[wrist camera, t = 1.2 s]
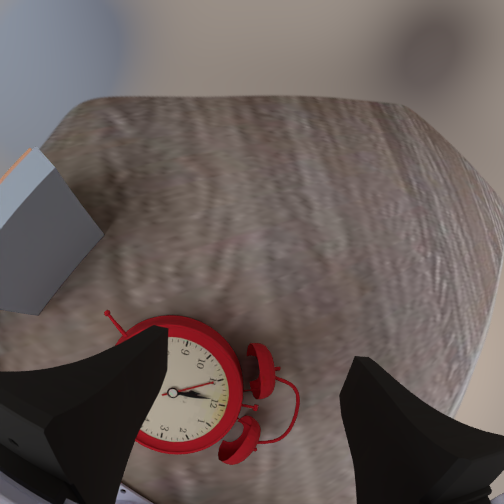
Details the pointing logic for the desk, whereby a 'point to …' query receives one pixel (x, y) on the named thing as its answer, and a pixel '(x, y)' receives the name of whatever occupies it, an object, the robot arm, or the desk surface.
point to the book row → (39, 233)
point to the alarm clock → (204, 392)
